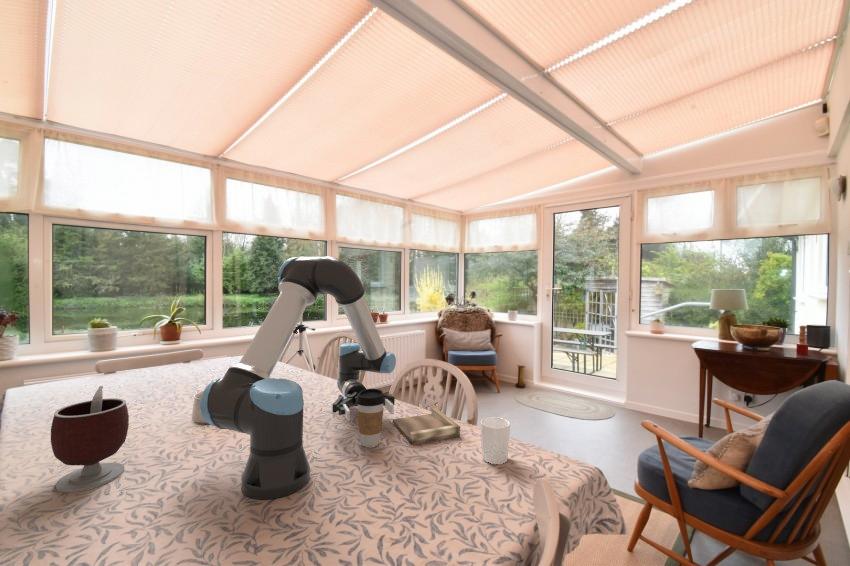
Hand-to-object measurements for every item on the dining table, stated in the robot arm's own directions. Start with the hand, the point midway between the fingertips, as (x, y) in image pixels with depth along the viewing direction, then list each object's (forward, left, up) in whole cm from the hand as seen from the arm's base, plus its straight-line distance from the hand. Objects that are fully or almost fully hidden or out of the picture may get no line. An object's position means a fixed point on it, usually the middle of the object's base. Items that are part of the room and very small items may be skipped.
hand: (371, 412), depth 111 cm
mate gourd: (-68, +5, -9) cm, 68 cm away
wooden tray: (+18, +1, -8) cm, 20 cm away
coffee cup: (-1, -2, -9) cm, 9 cm away
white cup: (+28, -24, -9) cm, 38 cm away
